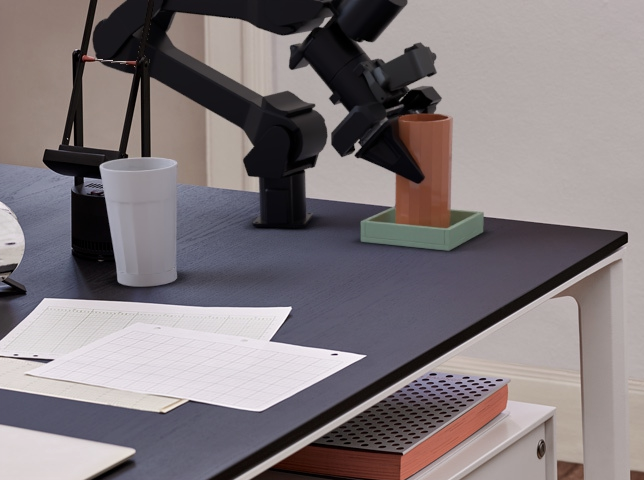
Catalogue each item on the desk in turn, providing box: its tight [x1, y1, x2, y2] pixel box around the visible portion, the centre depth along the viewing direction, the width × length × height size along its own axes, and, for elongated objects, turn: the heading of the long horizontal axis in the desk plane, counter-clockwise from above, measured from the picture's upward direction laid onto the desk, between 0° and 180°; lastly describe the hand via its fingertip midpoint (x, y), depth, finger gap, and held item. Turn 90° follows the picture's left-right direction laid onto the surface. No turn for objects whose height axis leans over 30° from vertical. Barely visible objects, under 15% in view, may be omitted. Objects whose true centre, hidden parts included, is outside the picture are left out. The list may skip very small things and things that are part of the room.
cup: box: [99, 156, 178, 288], centre depth 142 cm, size 8×8×12 cm
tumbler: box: [394, 113, 454, 229], centre depth 156 cm, size 6×6×13 cm
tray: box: [360, 205, 485, 252], centre depth 159 cm, size 11×10×2 cm
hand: (434, 175), depth 156 cm, fingers closed on tumbler, 6 cm apart
